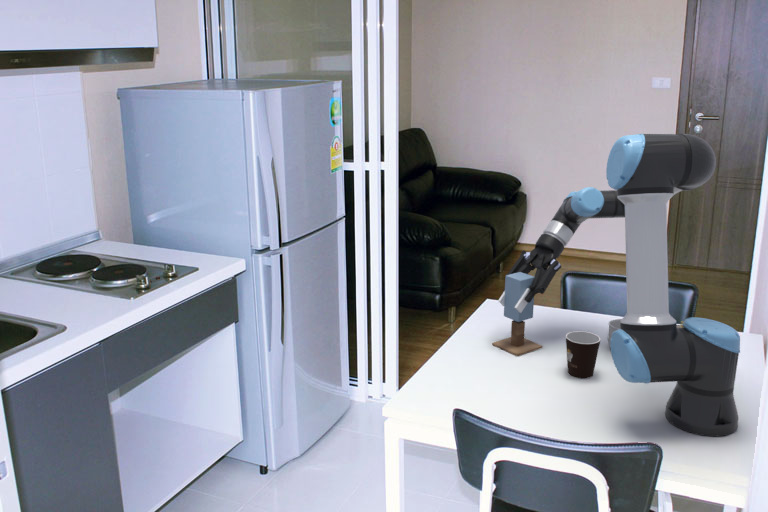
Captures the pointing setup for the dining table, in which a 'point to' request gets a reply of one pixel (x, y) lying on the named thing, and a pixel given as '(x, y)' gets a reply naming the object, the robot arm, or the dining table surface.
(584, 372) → the coffee mug
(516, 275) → the pale blue tall brick
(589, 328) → the dining table surface
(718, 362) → the robot arm
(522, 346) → the square wooden base plate
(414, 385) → the dining table surface
